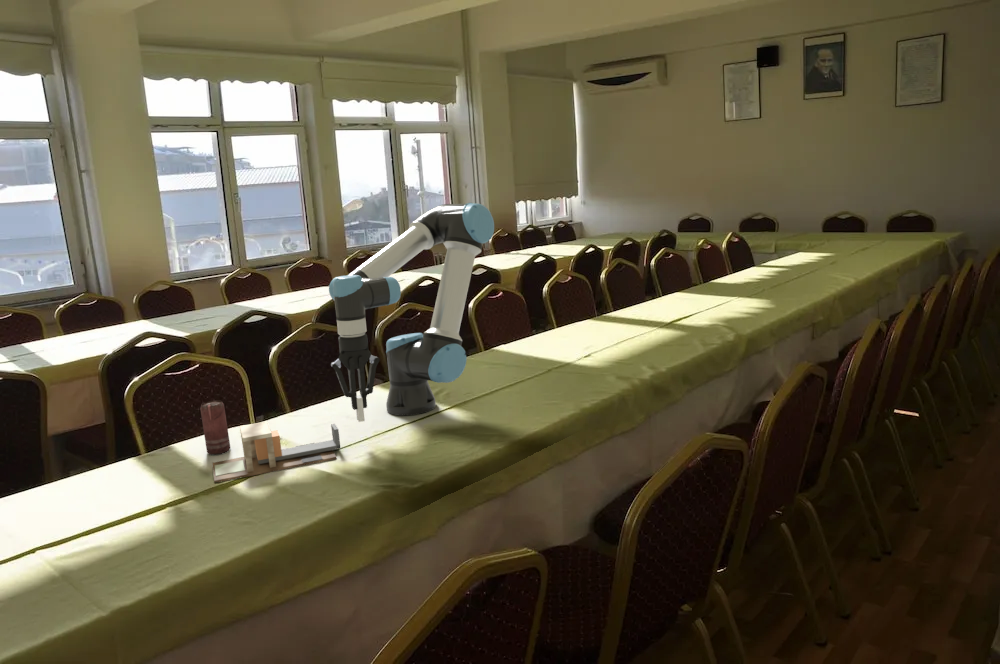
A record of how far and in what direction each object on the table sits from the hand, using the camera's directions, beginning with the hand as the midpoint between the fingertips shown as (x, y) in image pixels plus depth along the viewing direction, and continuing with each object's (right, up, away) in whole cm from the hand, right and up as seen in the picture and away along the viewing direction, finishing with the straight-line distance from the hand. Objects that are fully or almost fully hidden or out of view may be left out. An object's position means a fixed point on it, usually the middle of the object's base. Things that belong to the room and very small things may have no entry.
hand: (360, 420), depth 210 cm
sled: (-15, -8, -5) cm, 18 cm away
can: (-40, -9, +4) cm, 41 cm away
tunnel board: (-21, -10, -7) cm, 25 cm away
